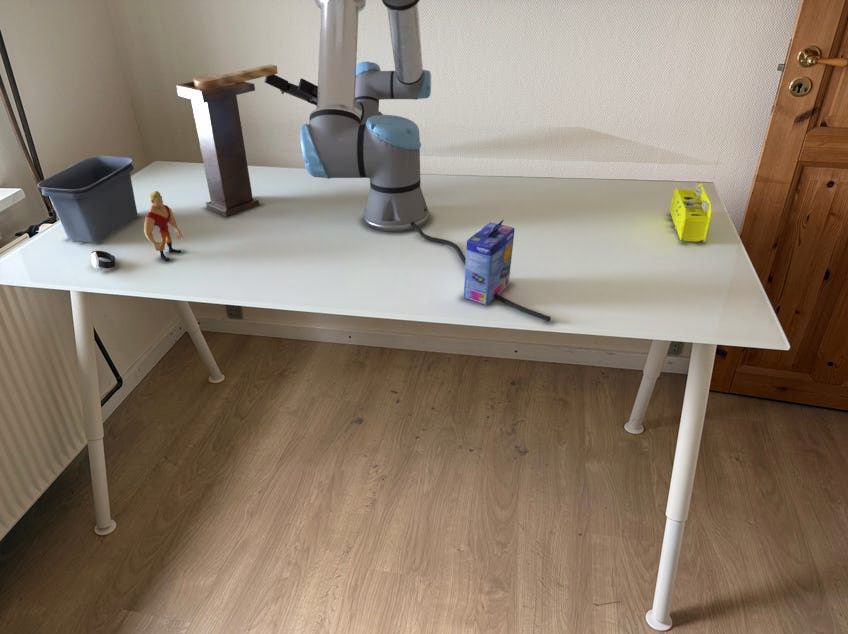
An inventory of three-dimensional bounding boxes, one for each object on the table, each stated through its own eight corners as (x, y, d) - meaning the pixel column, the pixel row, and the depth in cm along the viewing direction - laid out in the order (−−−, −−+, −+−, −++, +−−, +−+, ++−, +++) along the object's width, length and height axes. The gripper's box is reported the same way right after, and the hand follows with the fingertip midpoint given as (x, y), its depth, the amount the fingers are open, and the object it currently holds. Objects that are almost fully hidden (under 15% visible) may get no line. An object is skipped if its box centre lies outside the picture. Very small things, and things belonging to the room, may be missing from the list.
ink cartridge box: (488, 306, 126) (492, 234, 118) (462, 299, 129) (464, 228, 121) (511, 284, 133) (516, 214, 125) (486, 278, 136) (489, 209, 128)
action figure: (163, 266, 146) (147, 199, 138) (150, 264, 148) (132, 197, 139) (189, 248, 154) (175, 183, 145) (176, 246, 155) (161, 182, 146)
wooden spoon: (266, 71, 169) (265, 61, 168) (282, 74, 165) (281, 64, 164) (189, 88, 157) (187, 78, 155) (204, 92, 153) (203, 82, 152)
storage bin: (98, 250, 155) (80, 189, 147) (43, 243, 159) (22, 184, 151) (153, 214, 171) (139, 158, 163) (102, 209, 176) (85, 154, 168)
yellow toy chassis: (706, 245, 144) (715, 207, 139) (678, 243, 145) (686, 206, 140) (694, 215, 157) (702, 180, 152) (667, 214, 158) (675, 179, 153)
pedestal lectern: (246, 193, 181) (227, 73, 164) (271, 202, 174) (253, 79, 158) (201, 208, 173) (175, 84, 156) (225, 219, 167) (201, 91, 150)
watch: (87, 263, 150) (83, 247, 147) (108, 256, 152) (104, 241, 150) (101, 274, 145) (96, 259, 142) (122, 267, 147) (117, 252, 145)
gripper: (316, 88, 193) (257, 59, 176) (377, 101, 177) (319, 71, 161) (308, 115, 194) (249, 88, 178) (368, 130, 179) (310, 103, 163)
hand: (282, 80), depth 170 cm, fingers open, 13 cm apart
